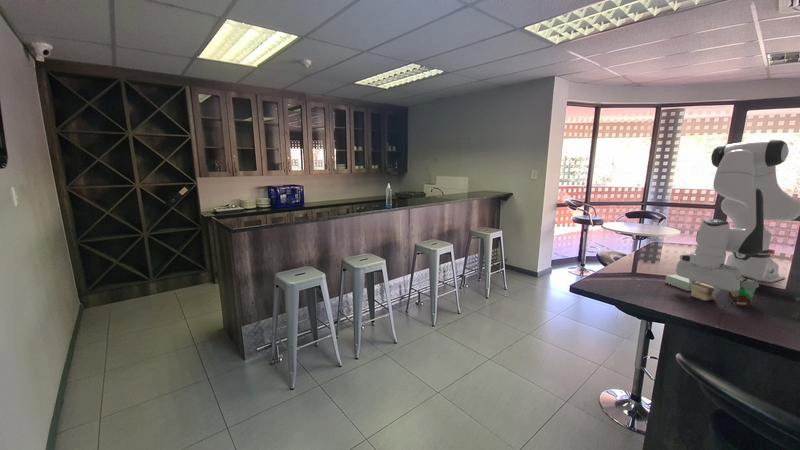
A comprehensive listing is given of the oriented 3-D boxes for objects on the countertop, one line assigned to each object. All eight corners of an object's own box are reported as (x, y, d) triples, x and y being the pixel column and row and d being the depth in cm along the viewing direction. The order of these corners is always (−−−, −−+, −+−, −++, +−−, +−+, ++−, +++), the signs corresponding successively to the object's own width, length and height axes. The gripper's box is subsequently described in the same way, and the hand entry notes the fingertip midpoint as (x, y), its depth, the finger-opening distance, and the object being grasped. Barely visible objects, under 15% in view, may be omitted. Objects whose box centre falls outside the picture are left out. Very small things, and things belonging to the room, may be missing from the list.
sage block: (683, 282, 146) (684, 273, 145) (707, 290, 136) (708, 281, 136) (665, 283, 144) (666, 275, 144) (688, 291, 135) (689, 282, 134)
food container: (760, 310, 116) (766, 285, 114) (737, 307, 119) (742, 281, 117) (747, 299, 126) (752, 275, 124) (726, 296, 129) (730, 272, 127)
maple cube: (700, 294, 130) (702, 283, 129) (714, 299, 125) (716, 287, 124) (690, 295, 129) (692, 284, 128) (704, 300, 124) (706, 288, 123)
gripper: (748, 268, 115) (741, 303, 118) (687, 253, 135) (682, 284, 137) (735, 269, 114) (728, 305, 116) (675, 254, 133) (671, 285, 136)
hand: (703, 293), depth 127 cm, fingers closed on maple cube, 5 cm apart
